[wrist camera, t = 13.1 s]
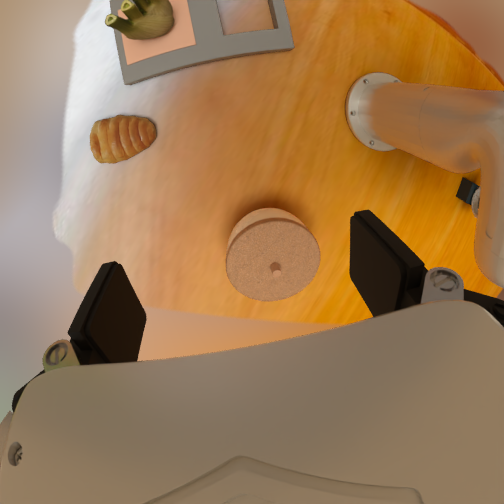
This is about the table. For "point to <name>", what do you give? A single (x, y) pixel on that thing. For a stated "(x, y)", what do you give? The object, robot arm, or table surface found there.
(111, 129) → the pastry
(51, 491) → the robot arm
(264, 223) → the lidded bowl
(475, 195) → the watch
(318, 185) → the table surface
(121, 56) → the holder board
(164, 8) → the fennel bulb
